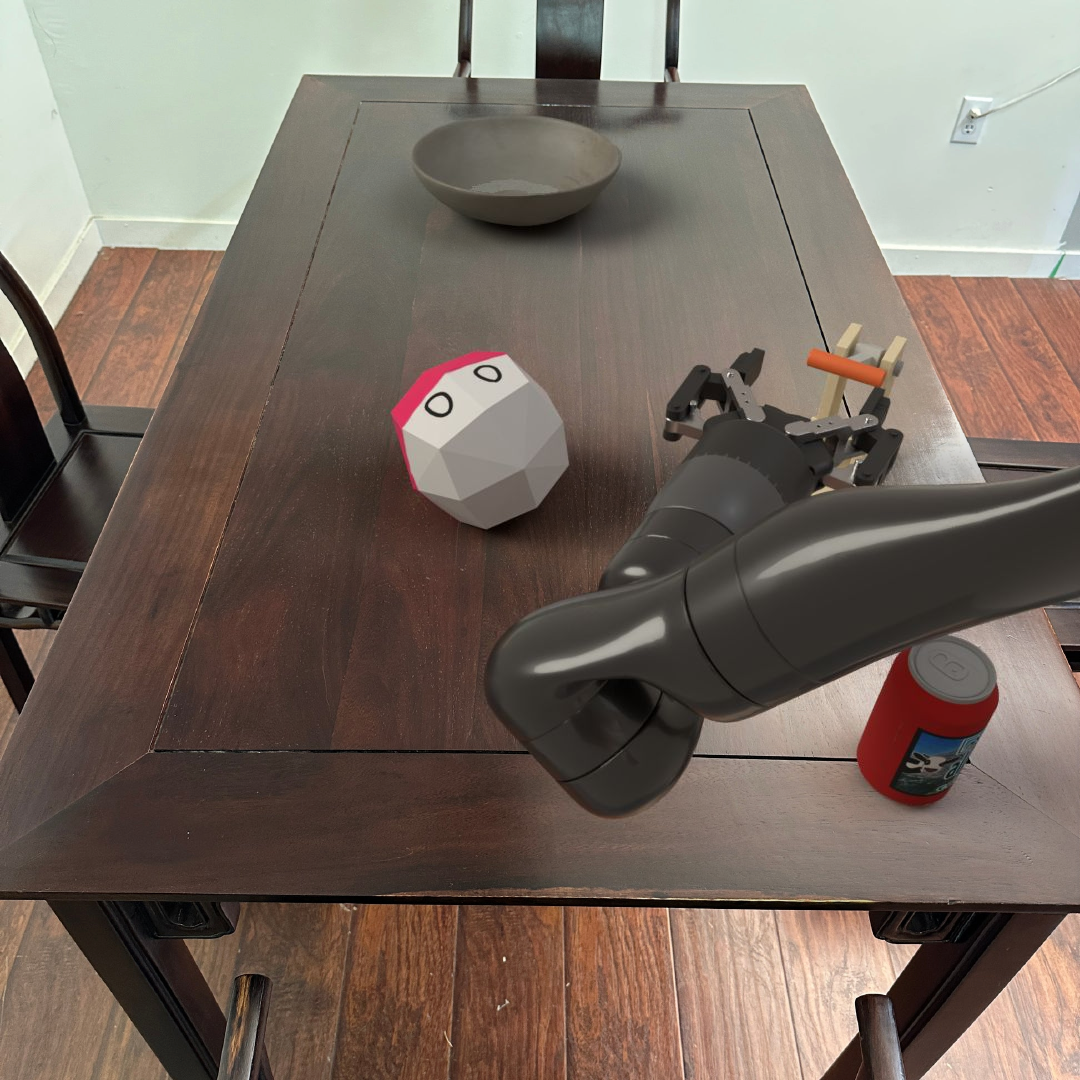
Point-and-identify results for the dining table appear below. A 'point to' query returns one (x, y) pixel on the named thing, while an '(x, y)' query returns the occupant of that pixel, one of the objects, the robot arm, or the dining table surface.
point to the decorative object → (481, 438)
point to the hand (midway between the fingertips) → (816, 378)
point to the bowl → (515, 166)
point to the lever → (853, 364)
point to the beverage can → (927, 720)
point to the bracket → (838, 383)
